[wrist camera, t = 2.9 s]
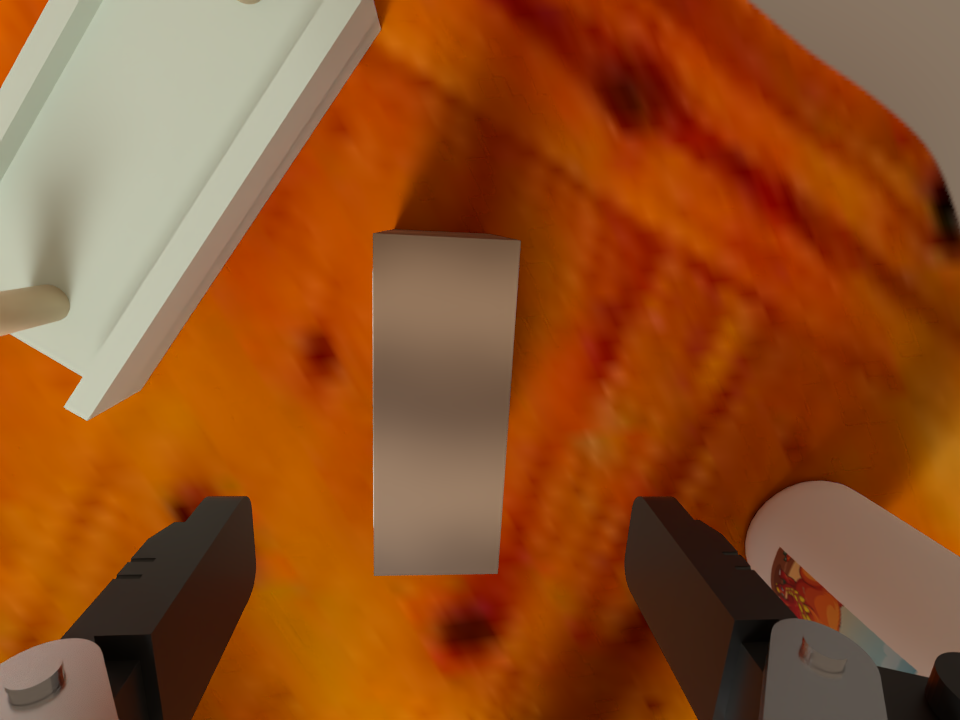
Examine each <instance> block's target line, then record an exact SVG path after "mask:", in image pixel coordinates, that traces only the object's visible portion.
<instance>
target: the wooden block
mask: <svg viewBox="0 0 960 720" xmlns="http://www.w3.org/2000/svg"><path fill="white" fill-rule="evenodd" d="M520 246H521V241H520V240H515V239H511V238H506V237H501V236H497V235H492V234H480V233H460V232H441V231H421V230H401V229H393V230H387V231H382V232H377V233H373V527H374V576H386V575H448V574H498V563H499V548H500V534H501V519H502V505H503V491H504V476H505V462H506V447H507V433H508V419H509V404H510V390H511V375H512V361H513V347H514V332H515V318H516V303H517V289H518V275H519V260H520Z"/></svg>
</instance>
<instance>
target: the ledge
mask: <svg viewBox="0 0 960 720" xmlns="http://www.w3.org/2000/svg"><path fill="white" fill-rule="evenodd" d="M380 30H381V27H380V23H379V20H378V16H377V12H376V8H375V5H374V1H373V0H49V1H48V3H47V5H46V6H45V8H44V10H43V12H42V14H41V16H40V17H39V19H38V21H37V23H36V25H35V26H34V28H33V30H32V32H31V34H30V36H29V37H28V39H27V41H26V43H25V45H24V47H23V48H22V50H21V52H20V54H19V56H18V58H17V59H16V61H15V63H14V65H13V67H12V69H11V70H10V72H9V74H8V76H7V78H6V79H5V81H4V83H3V85H2V87H1V89H0V336H3V335H6V334H11V335H13V336H14V337H16V338H18V339H19V340H21V341H23V342H24V343H26V344H28V345H30V346H31V347H33V348H35V349H36V350H38V351H40V352H41V353H43V354H45V355H47V356H48V357H50V358H52V359H53V360H55V361H57V362H58V363H60V364H62V365H64V366H65V367H67V368H69V369H70V370H72V371H74V372H75V373H77V374H79V375H80V376H82V377H83V378H82V379H81V381H80V382H79V384H78V386H77V387H76V389H75V390H74V392H73V393H72V395H71V396H70V398H69V400H68V401H67V403H66V404H65V406H64V408H65V409H67V410H69V411H71V412H72V413H74V414H76V415H78V416H79V417H81V418H83V419H85V420H86V421H88V420H90V419H91V418H93V417H95V416H97V415H98V414H100V413H102V412H104V411H105V410H107V409H109V408H111V407H112V406H114V405H116V404H118V403H119V402H121V401H123V400H124V399H126V398H128V397H130V396H131V395H133V394H135V393H137V392H138V391H140V390H141V389H142V388H143V386H144V385H145V383H146V382H147V380H148V379H149V377H150V376H151V374H152V373H153V371H154V370H155V368H156V367H157V365H158V364H159V362H160V361H161V359H162V358H163V356H164V355H165V353H166V352H167V350H168V349H169V347H170V346H171V344H172V343H173V341H174V340H175V338H176V337H177V335H178V334H179V332H180V331H181V329H182V328H183V326H184V325H185V323H186V322H187V320H188V319H189V317H190V316H191V314H192V313H193V311H194V310H195V308H196V307H197V305H198V304H199V302H200V301H201V299H202V298H203V296H204V295H205V293H206V292H207V290H208V289H209V287H210V285H211V284H212V282H213V281H214V279H215V278H216V276H217V275H218V273H219V272H220V270H221V269H222V267H223V266H224V264H225V263H226V261H227V260H228V258H229V257H230V255H231V254H232V252H233V251H234V249H235V248H236V246H237V245H238V243H239V242H240V240H241V239H242V237H243V236H244V234H245V233H246V231H247V230H248V228H249V227H250V225H251V224H252V222H253V221H254V219H255V218H256V216H257V215H258V213H259V212H260V210H261V209H262V207H263V206H264V204H265V203H266V201H267V200H268V198H269V197H270V195H271V194H272V192H273V191H274V189H275V188H276V186H277V185H278V183H279V182H280V180H281V179H282V177H283V176H284V174H285V173H286V171H287V170H288V168H289V167H290V165H291V164H292V162H293V161H294V159H295V158H296V156H297V155H298V153H299V152H300V150H301V149H302V147H303V146H304V144H305V143H306V141H307V140H308V138H309V137H310V135H311V134H312V132H313V131H314V129H315V128H316V126H317V125H318V123H319V122H320V120H321V119H322V117H323V116H324V114H325V113H326V111H327V110H328V108H329V107H330V105H331V104H332V102H333V101H334V99H335V98H336V96H337V95H338V93H339V92H340V90H341V89H342V87H343V86H344V84H345V83H346V81H347V80H348V78H349V77H350V75H351V74H352V72H353V71H354V69H355V68H356V66H357V65H358V63H359V62H360V60H361V59H362V57H363V56H364V54H365V53H366V51H367V50H368V48H369V47H370V45H371V44H372V42H373V41H374V39H375V38H376V36H377V35H378V33H379V32H380Z"/></svg>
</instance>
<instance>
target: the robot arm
mask: <svg viewBox="0 0 960 720" xmlns="http://www.w3.org/2000/svg"><path fill="white" fill-rule="evenodd" d="M255 572H256V558H255V545H254V532H253V519H252V507H251V502H250V499H249V498H248V497H247V496H208V497H206V498H205V499H204V500H203V501H202V502H201V503H200V504H199V506H198V507H197V508H196V509H195V511H194V512H193V513H192V514H191V516H190V517H189V518H188V519H187V521H186V522H174V523H173V524H171V525H169V526H168V527H166V528H165V529H163V530H162V531H160V532H158V533H157V534H155V535H154V536H152V537H151V538H149V539H148V540H147V541H146V542H145V543H144V544H143V546H142V547H141V548H140V549H139V550H138V551H137V552H136V554H135V555H134V556H133V557H132V558H131V562H128V563H127V564H126V565H125V566H124V567H123V568H122V570H121V571H120V572H119V573H118V574H117V578H116V579H113V580H112V581H111V582H110V583H109V584H108V586H107V587H106V588H105V589H104V590H103V591H102V592H101V594H100V595H99V596H98V597H97V598H96V599H95V600H94V601H93V603H92V604H91V605H90V606H89V607H88V608H87V609H86V611H85V612H84V613H83V614H82V615H81V616H80V617H79V619H78V620H77V621H76V622H75V623H74V624H73V625H72V627H71V628H70V629H69V630H68V631H67V632H66V633H65V635H64V636H63V637H62V638H61V639H60V640H55V641H51V642H47V643H44V644H41V645H38V646H35V647H32V648H30V649H28V650H26V651H23V652H21V653H19V654H17V655H15V656H13V657H11V658H10V659H8V660H6V661H5V662H3V663H2V664H0V720H191V719H192V717H193V715H194V713H195V711H196V709H197V707H198V704H199V702H200V700H201V698H202V696H203V694H204V692H205V690H206V688H207V686H208V683H209V681H210V679H211V677H212V675H213V673H214V671H215V669H216V667H217V665H218V663H219V660H220V658H221V656H222V654H223V652H224V650H225V648H226V646H227V644H228V642H229V640H230V637H231V635H232V633H233V631H234V629H235V627H236V625H237V623H238V621H239V619H240V616H241V614H242V612H243V610H244V608H245V606H246V604H247V602H248V600H249V598H250V595H251V592H252V589H253V585H254V580H255ZM625 575H626V580H627V584H628V587H629V589H630V592H631V594H632V595H633V597H634V599H635V601H636V603H637V605H638V607H639V609H640V611H641V612H642V614H643V616H644V618H645V620H646V622H647V624H648V626H649V628H650V629H651V631H652V633H653V635H654V637H655V639H656V641H657V643H658V645H659V646H660V648H661V650H662V652H663V654H664V656H665V658H666V660H667V662H668V663H669V665H670V667H671V669H672V671H673V673H674V675H675V677H676V679H677V680H678V682H679V684H680V686H681V688H682V690H683V692H684V694H685V696H686V697H687V699H688V701H689V703H690V705H691V707H692V709H693V711H694V713H695V715H696V716H697V718H698V720H960V652H946V653H943V654H941V655H939V656H938V657H937V658H936V660H935V662H934V665H933V668H932V671H931V674H930V676H929V677H924V676H920V675H915V674H911V673H906V672H902V671H898V670H893V669H889V668H884V667H880V666H876V664H875V662H874V661H873V660H872V658H871V657H870V656H869V655H868V654H867V653H866V652H865V651H864V650H863V649H862V648H861V647H860V646H859V645H858V644H856V643H855V642H854V641H852V640H851V639H850V638H848V637H846V636H845V635H843V634H842V633H840V632H838V631H836V630H834V629H832V628H830V627H828V626H825V625H823V624H820V623H817V622H814V621H810V620H805V619H798V617H797V616H796V615H795V614H794V613H793V612H792V611H791V610H790V609H789V608H788V606H787V605H786V604H785V603H784V602H783V601H782V600H781V599H780V598H779V597H778V596H777V594H776V593H775V592H774V591H773V590H772V589H771V588H770V587H769V586H768V585H767V583H766V582H765V581H764V580H763V579H762V578H761V577H760V576H759V575H758V574H757V572H756V571H755V570H751V566H750V565H749V564H748V563H747V561H746V560H745V559H744V558H743V557H742V556H741V555H738V553H737V550H736V549H735V548H734V547H733V546H732V545H731V544H730V543H729V542H728V541H727V540H726V538H725V537H724V536H723V535H722V534H720V533H719V532H717V531H716V530H714V529H713V528H711V527H709V526H708V525H706V524H705V523H703V522H702V521H700V520H694V519H693V518H692V517H691V516H690V515H689V514H688V512H687V511H686V510H685V509H684V508H683V507H682V505H681V504H680V503H679V502H678V501H677V500H676V499H675V498H674V497H637V498H636V499H635V501H634V503H633V507H632V513H631V520H630V526H629V533H628V540H627V547H626V553H625Z"/></svg>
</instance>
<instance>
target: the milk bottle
mask: <svg viewBox="0 0 960 720" xmlns="http://www.w3.org/2000/svg"><path fill="white" fill-rule="evenodd" d="M745 554H746V558H747V563H748V564H749V565H750V566H751V570H755V571H756V572H757V574H758V575H759V576H760V577H761V578H762V579H763V580H764V581H765V582H766V583H767V585H768V586H769V587H770V588H771V589H772V590H773V591H774V592H775V593H776V594H777V596H778V597H779V598H780V599H781V600H782V601H783V602H784V603H785V604H786V605H787V606H788V608H789V609H790V610H791V611H792V612H793V613H794V614H795V615H796V616H797V617H798V619H805V620H810V621H814V622H817V623H820V624H823V625H825V626H828V627H830V628H832V629H834V630H836V631H838V632H840V633H842V634H843V635H845V636H846V637H848V638H850V639H851V640H852V641H854V642H855V643H856V644H858V645H859V646H860V647H861V648H862V649H863V650H864V651H865V652H866V653H867V654H868V655H869V656H870V657H871V658H872V660H873V661H874V662H875V664H876V666H880V667H884V668H889V669H893V670H898V671H902V672H906V673H911V674H915V675H920V676H924V677H929V676H930V674H931V671H932V668H933V665H934V662H935V660H936V658H937V657H938V656H939V655H941V654H943V653H946V652H960V557H959V556H957V555H956V554H954V553H953V552H951V551H949V550H948V549H946V548H945V547H943V546H942V545H940V544H938V543H937V542H935V541H934V540H932V539H931V538H929V537H927V536H926V535H924V534H923V533H921V532H920V531H918V530H916V529H915V528H913V527H912V526H910V525H909V524H907V523H905V522H904V521H902V520H901V519H899V518H898V517H896V516H894V515H893V514H891V513H890V512H888V511H886V510H885V509H883V508H882V507H880V506H879V505H877V504H875V503H874V502H872V501H871V500H869V499H867V498H866V497H864V496H863V495H861V494H859V493H857V492H856V491H854V490H852V489H851V488H849V487H847V486H845V485H842V484H839V483H835V482H828V481H807V482H802V483H798V484H795V485H793V486H790V487H787V488H785V489H784V490H782V491H780V492H778V493H777V494H775V495H774V496H773V497H772V498H770V499H769V500H768V501H767V502H765V504H764V505H763V506H762V507H761V508H760V509H759V510H758V511H757V513H756V515H755V517H754V518H753V520H752V521H751V523H750V526H749V528H748V531H747V535H746V540H745Z"/></svg>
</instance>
